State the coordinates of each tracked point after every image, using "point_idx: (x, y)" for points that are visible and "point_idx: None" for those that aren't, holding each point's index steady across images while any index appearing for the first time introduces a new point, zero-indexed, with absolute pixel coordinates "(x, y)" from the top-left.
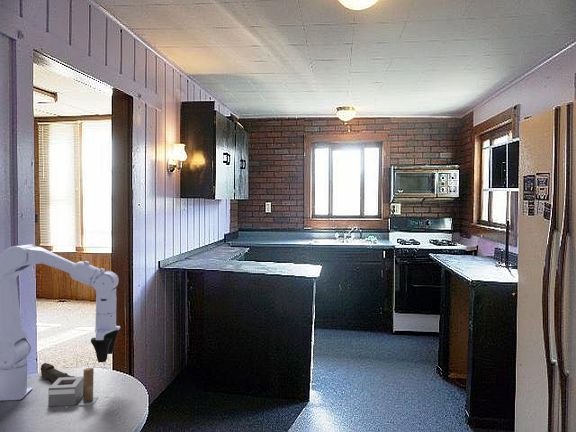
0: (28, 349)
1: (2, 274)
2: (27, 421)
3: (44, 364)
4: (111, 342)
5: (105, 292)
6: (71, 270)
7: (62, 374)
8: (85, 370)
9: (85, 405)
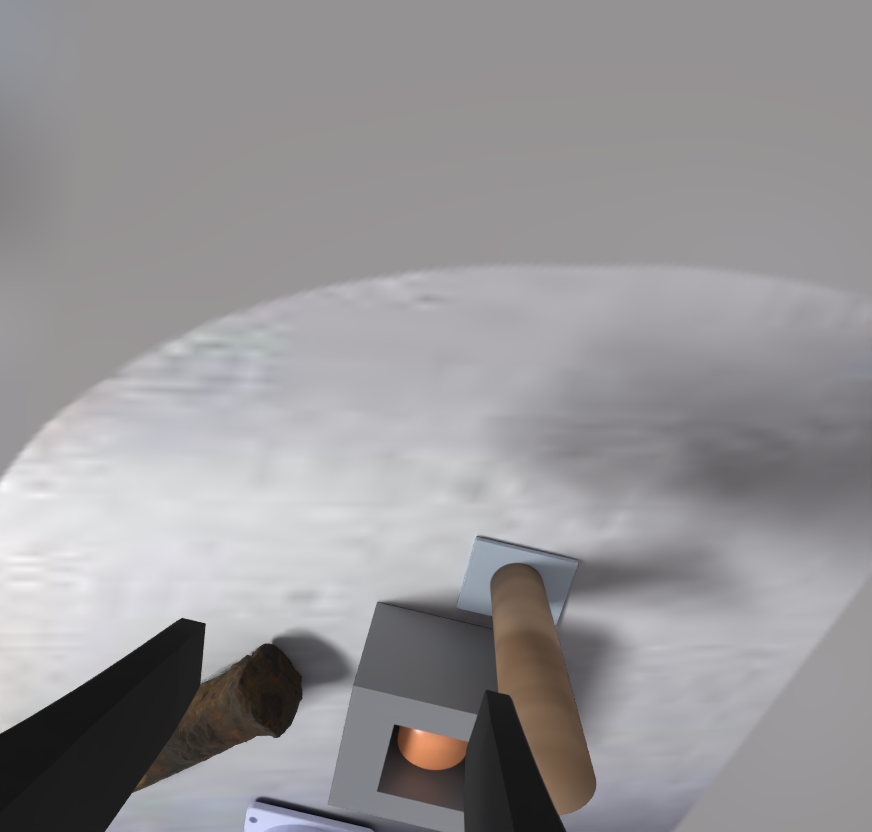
0: None
1: None
2: (636, 795)
3: None
4: (73, 776)
5: None
6: None
7: (194, 754)
8: (574, 804)
9: (565, 594)
